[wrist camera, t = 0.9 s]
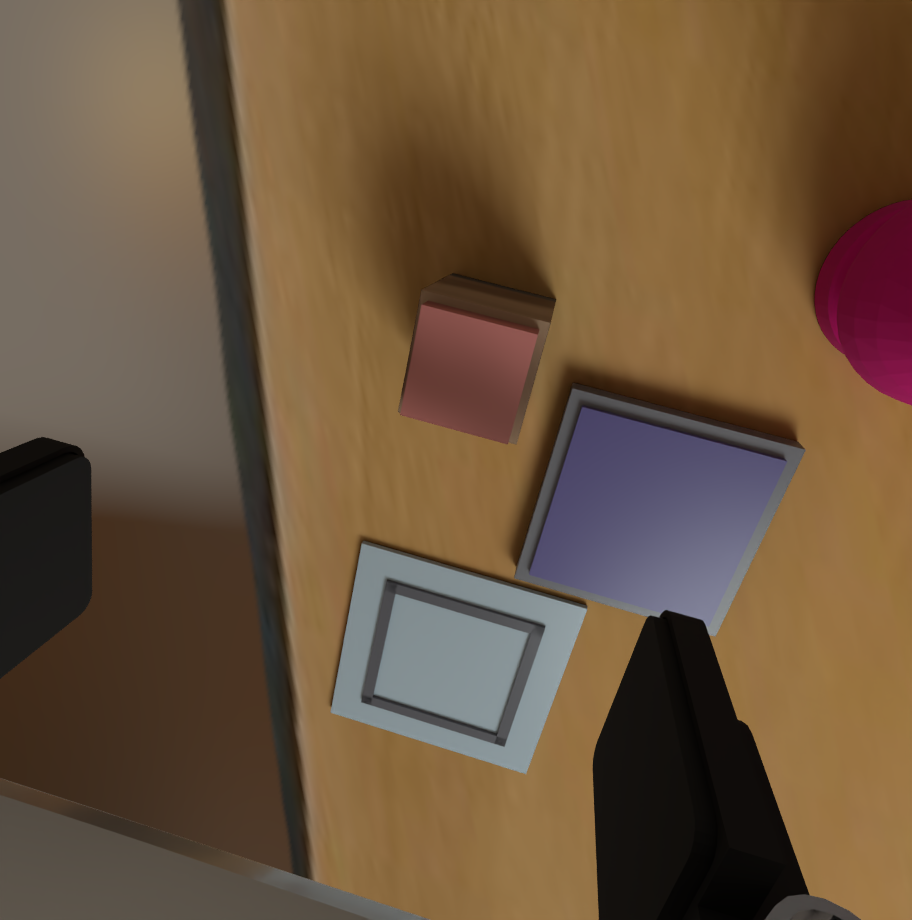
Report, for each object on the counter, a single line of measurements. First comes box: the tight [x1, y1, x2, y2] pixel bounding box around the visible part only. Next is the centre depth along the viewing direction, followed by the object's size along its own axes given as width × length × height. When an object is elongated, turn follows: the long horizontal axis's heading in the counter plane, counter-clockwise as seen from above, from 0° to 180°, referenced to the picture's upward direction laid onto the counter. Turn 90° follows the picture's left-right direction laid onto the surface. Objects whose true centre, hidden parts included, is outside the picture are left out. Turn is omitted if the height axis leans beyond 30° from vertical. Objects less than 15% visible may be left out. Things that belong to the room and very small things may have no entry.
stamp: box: [398, 273, 556, 444], centre depth 25 cm, size 5×5×7 cm
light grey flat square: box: [331, 541, 587, 774], centre depth 35 cm, size 12×12×1 cm
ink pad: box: [514, 383, 805, 636], centre depth 29 cm, size 10×10×1 cm
